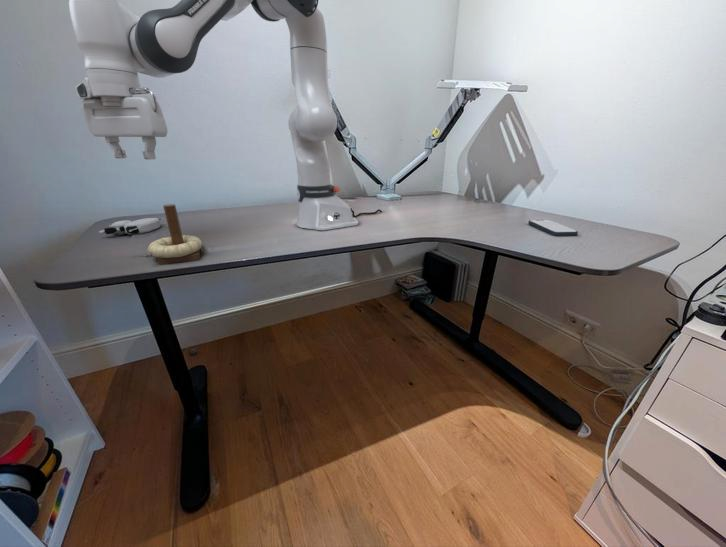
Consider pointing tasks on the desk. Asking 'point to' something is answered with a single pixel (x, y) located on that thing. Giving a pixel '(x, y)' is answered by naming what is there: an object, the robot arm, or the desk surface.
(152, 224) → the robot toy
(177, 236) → the stand
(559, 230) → the phone case
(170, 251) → the cream ring
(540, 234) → the desk surface
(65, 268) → the desk surface
